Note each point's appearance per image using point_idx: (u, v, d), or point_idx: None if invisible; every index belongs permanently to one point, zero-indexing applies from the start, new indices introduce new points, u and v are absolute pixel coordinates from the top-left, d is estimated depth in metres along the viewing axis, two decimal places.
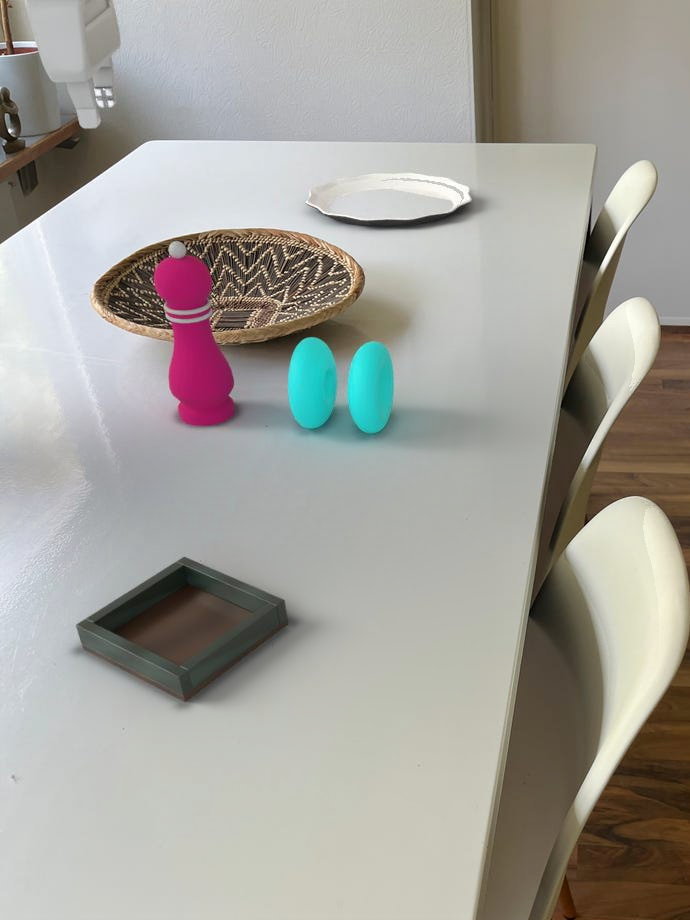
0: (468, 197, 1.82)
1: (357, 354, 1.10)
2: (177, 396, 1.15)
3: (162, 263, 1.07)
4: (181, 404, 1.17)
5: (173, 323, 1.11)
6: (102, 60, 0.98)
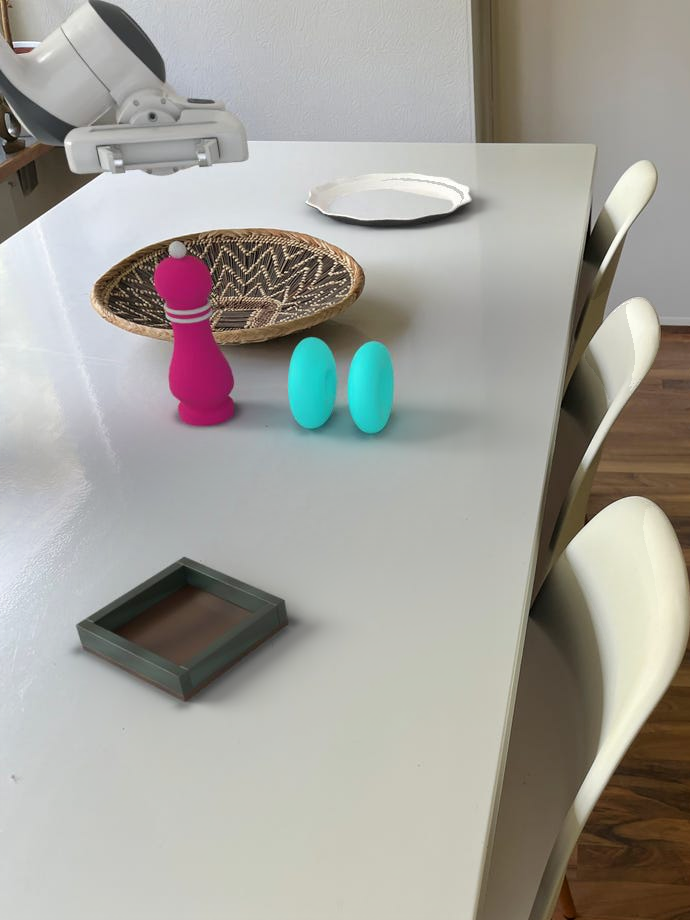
0: (468, 197, 1.82)
1: (357, 354, 1.10)
2: (177, 396, 1.15)
3: (162, 263, 1.07)
4: (181, 404, 1.17)
5: (173, 323, 1.11)
6: (179, 166, 1.18)
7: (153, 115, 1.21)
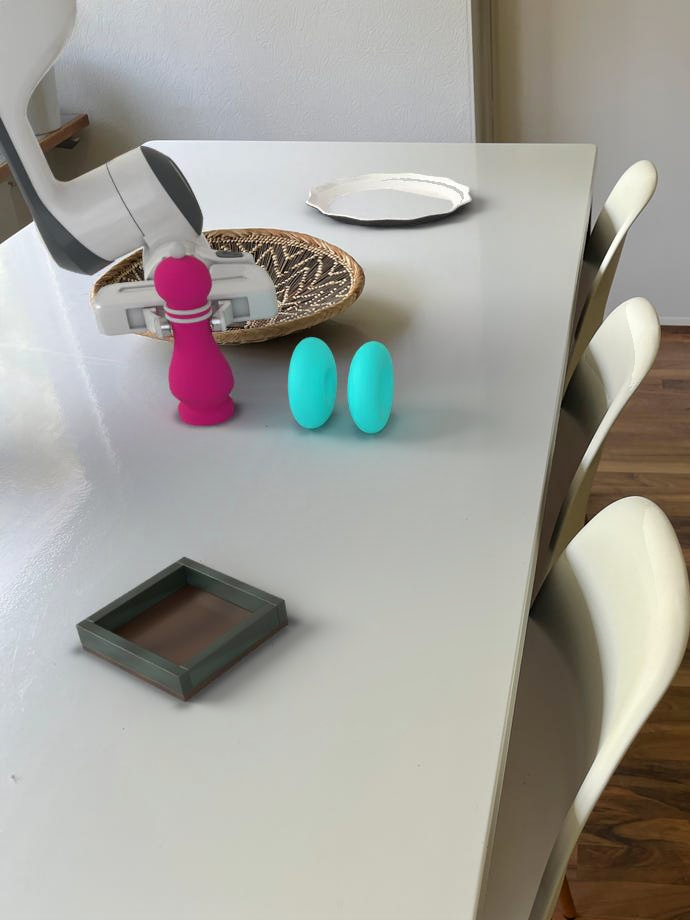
0: (468, 197, 1.82)
1: (357, 354, 1.10)
2: (177, 396, 1.15)
3: (162, 263, 1.07)
4: (181, 404, 1.17)
5: (173, 323, 1.11)
6: None
7: None
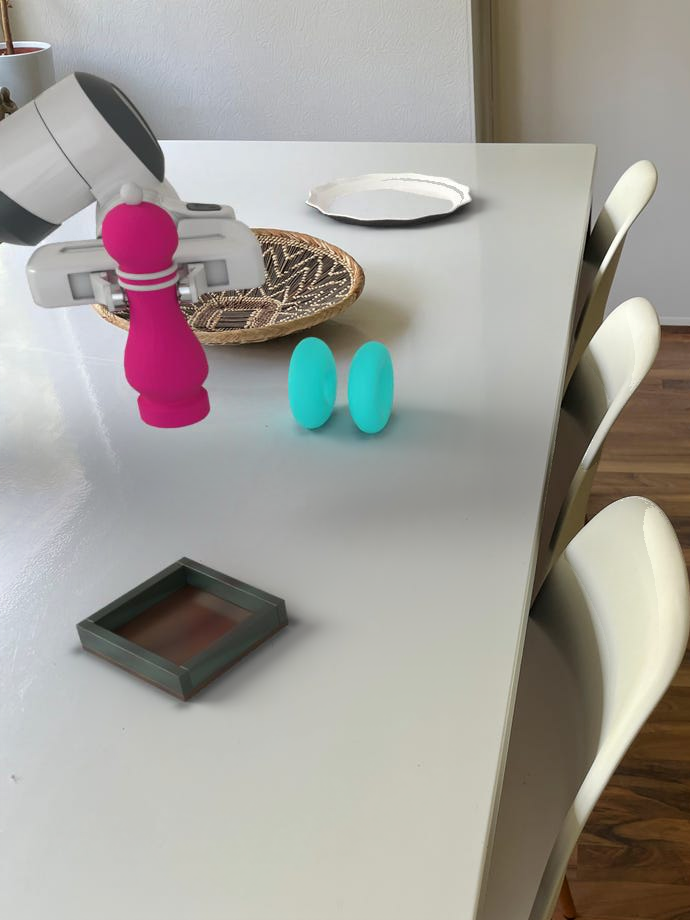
0: (468, 197, 1.82)
1: (357, 354, 1.10)
2: (135, 386, 0.89)
3: (112, 211, 0.82)
4: (141, 397, 0.92)
5: (128, 291, 0.85)
6: None
7: None
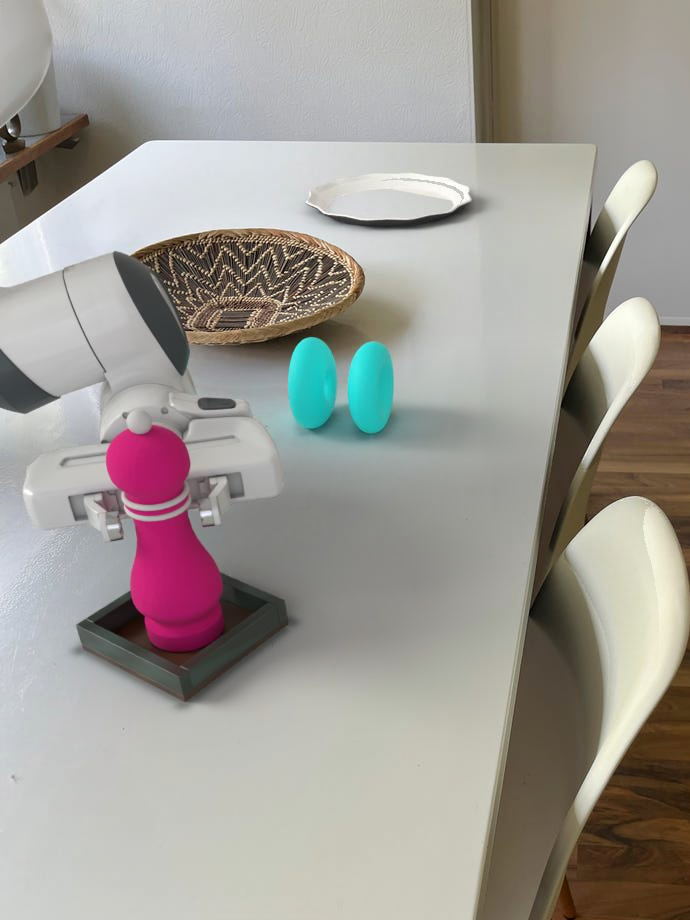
0: (468, 197, 1.82)
1: (357, 354, 1.10)
2: (142, 612, 0.81)
3: (117, 441, 0.74)
4: None
5: (135, 519, 0.77)
6: None
7: None
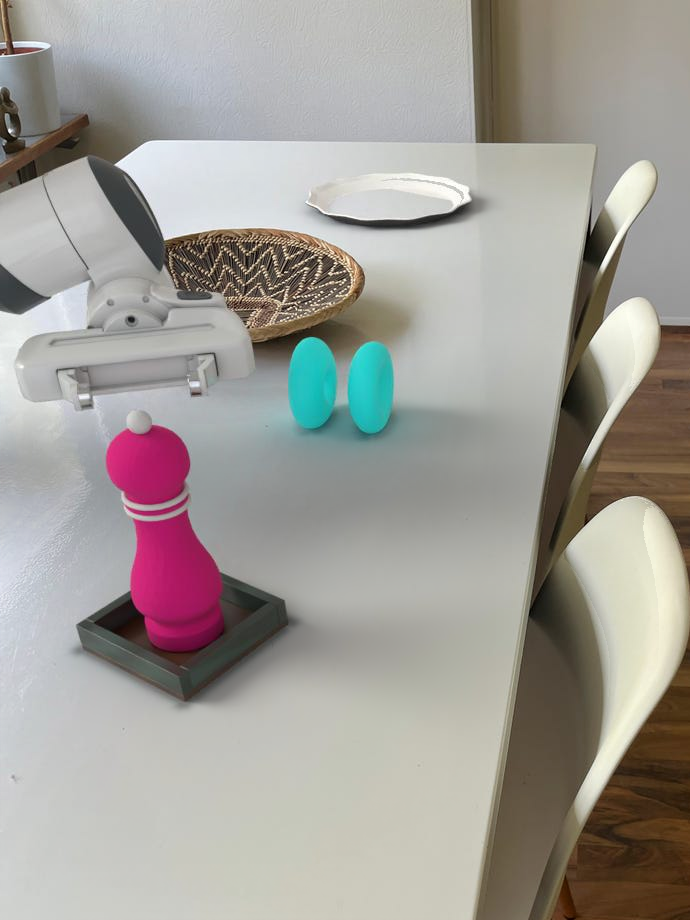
0: (468, 197, 1.82)
1: (357, 354, 1.10)
2: (142, 612, 0.81)
3: (117, 441, 0.74)
4: None
5: (135, 519, 0.77)
6: None
7: None
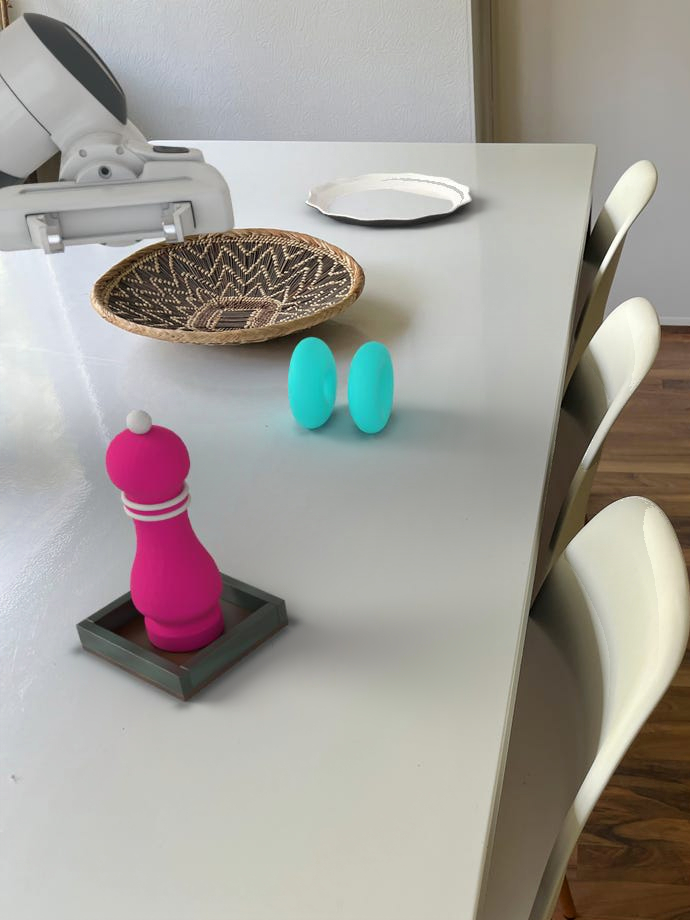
0: (468, 197, 1.82)
1: (357, 354, 1.10)
2: (142, 612, 0.81)
3: (117, 441, 0.74)
4: None
5: (135, 519, 0.77)
6: (140, 239, 0.88)
7: (107, 169, 0.90)
